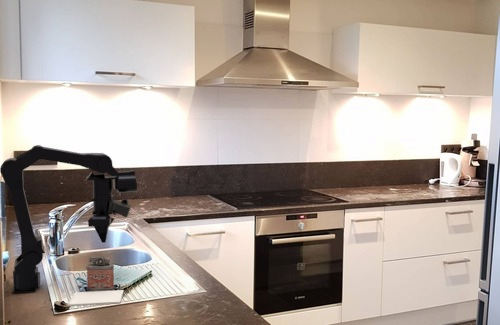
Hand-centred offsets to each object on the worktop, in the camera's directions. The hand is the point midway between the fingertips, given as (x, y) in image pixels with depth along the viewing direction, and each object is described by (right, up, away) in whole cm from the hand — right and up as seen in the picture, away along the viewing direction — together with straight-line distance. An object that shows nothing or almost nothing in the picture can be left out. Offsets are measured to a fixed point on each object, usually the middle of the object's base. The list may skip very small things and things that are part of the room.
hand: (103, 242), depth 154 cm
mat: (+3, -14, -15) cm, 20 cm away
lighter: (+1, -13, -8) cm, 15 cm away
